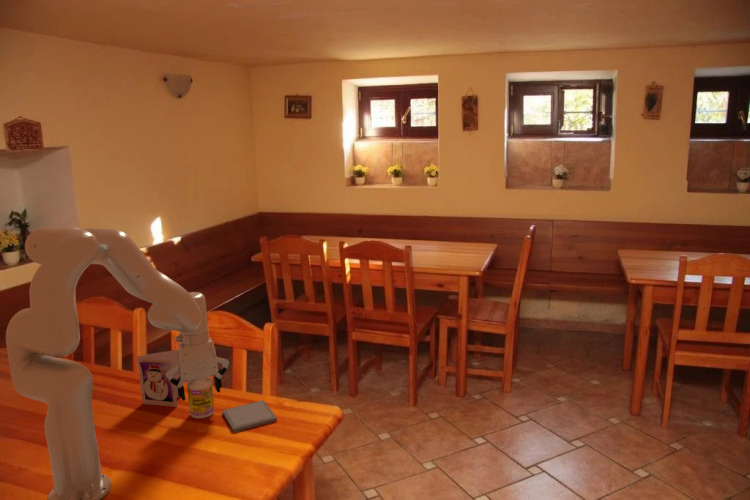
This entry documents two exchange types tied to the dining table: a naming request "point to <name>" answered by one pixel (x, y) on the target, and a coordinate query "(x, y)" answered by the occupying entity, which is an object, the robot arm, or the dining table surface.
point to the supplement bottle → (200, 397)
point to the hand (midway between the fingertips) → (200, 394)
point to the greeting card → (158, 378)
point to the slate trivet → (249, 416)
